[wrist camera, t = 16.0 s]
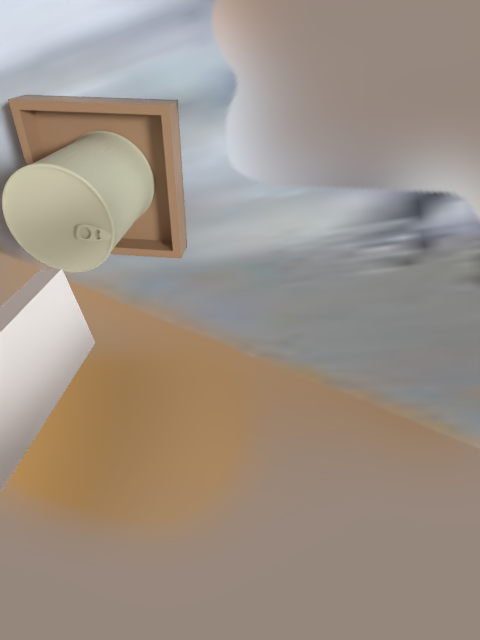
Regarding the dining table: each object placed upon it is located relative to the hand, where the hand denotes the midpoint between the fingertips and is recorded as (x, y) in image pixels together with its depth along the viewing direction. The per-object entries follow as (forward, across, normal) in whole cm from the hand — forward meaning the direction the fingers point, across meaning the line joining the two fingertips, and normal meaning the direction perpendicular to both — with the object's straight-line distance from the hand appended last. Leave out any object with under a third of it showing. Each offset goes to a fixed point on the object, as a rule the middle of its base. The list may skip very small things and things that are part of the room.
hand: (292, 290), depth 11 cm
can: (+31, -19, -4) cm, 37 cm away
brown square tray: (+32, -19, -4) cm, 37 cm away
